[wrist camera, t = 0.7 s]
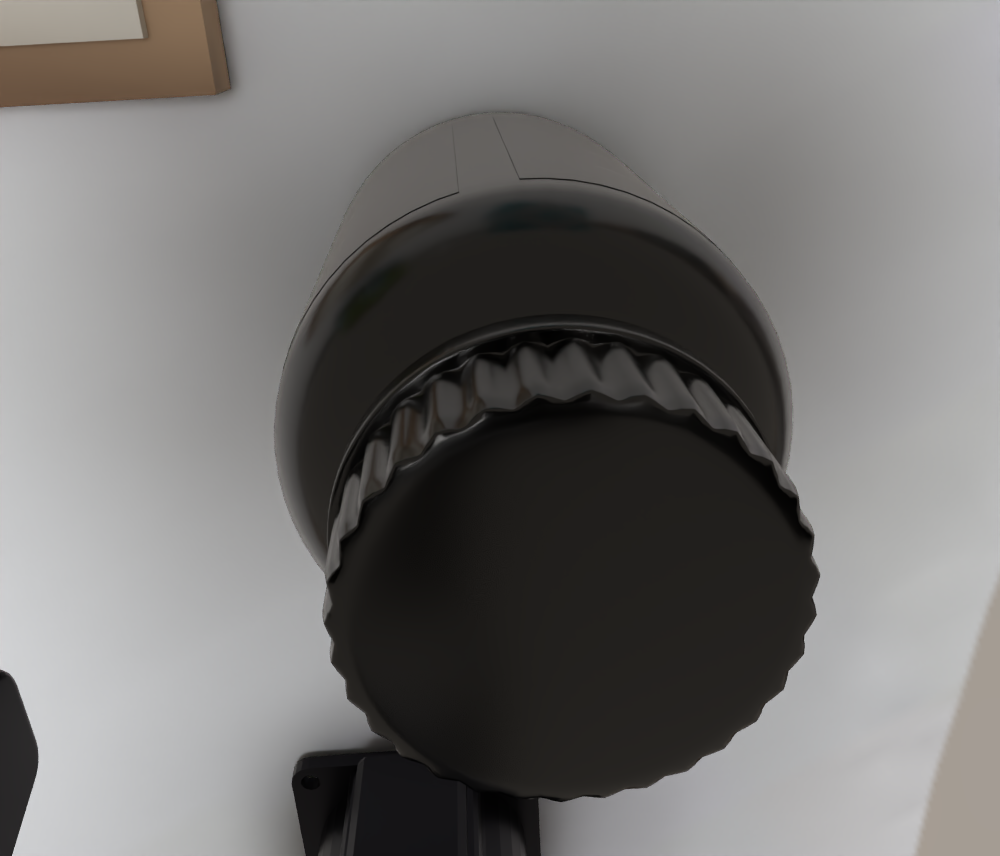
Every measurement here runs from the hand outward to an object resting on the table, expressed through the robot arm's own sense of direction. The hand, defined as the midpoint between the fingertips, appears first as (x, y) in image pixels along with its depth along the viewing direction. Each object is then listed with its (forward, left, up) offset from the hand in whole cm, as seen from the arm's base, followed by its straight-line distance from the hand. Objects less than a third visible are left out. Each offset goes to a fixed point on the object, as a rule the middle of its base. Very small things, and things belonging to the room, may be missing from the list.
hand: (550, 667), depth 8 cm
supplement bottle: (0, 0, -13) cm, 13 cm away
